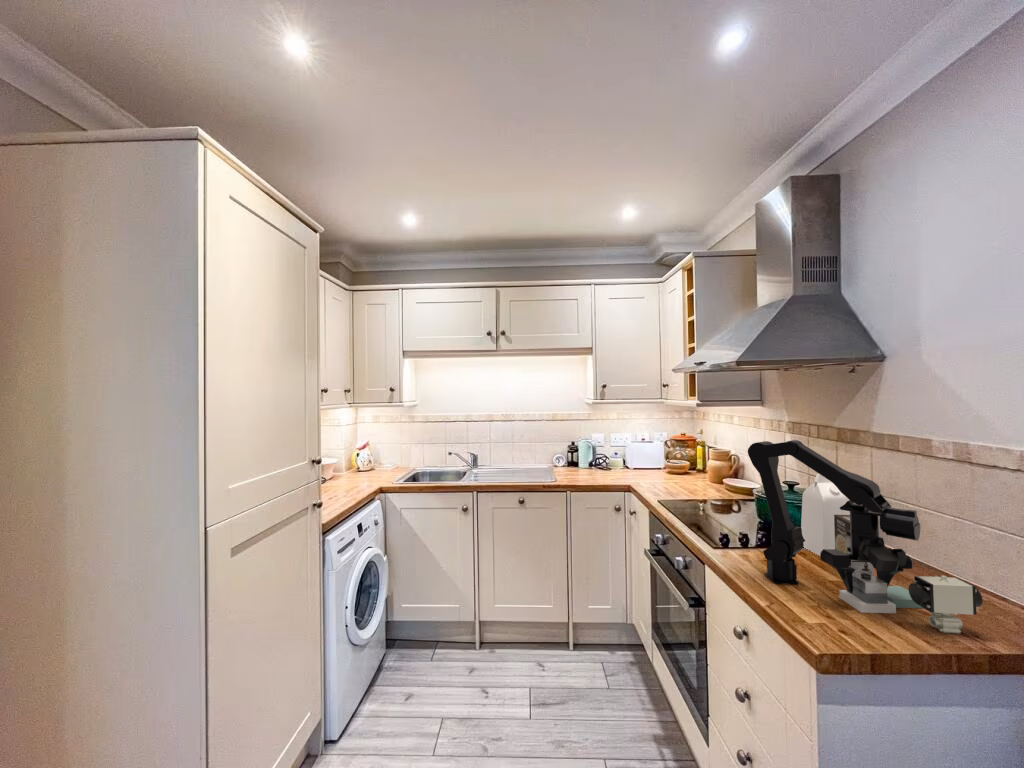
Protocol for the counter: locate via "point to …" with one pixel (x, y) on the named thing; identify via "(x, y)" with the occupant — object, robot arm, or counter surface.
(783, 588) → the counter surface
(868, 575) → the block
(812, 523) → the milk
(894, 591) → the stand
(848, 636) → the counter surface
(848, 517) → the coffee box
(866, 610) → the stand
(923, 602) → the pneumatic valve
